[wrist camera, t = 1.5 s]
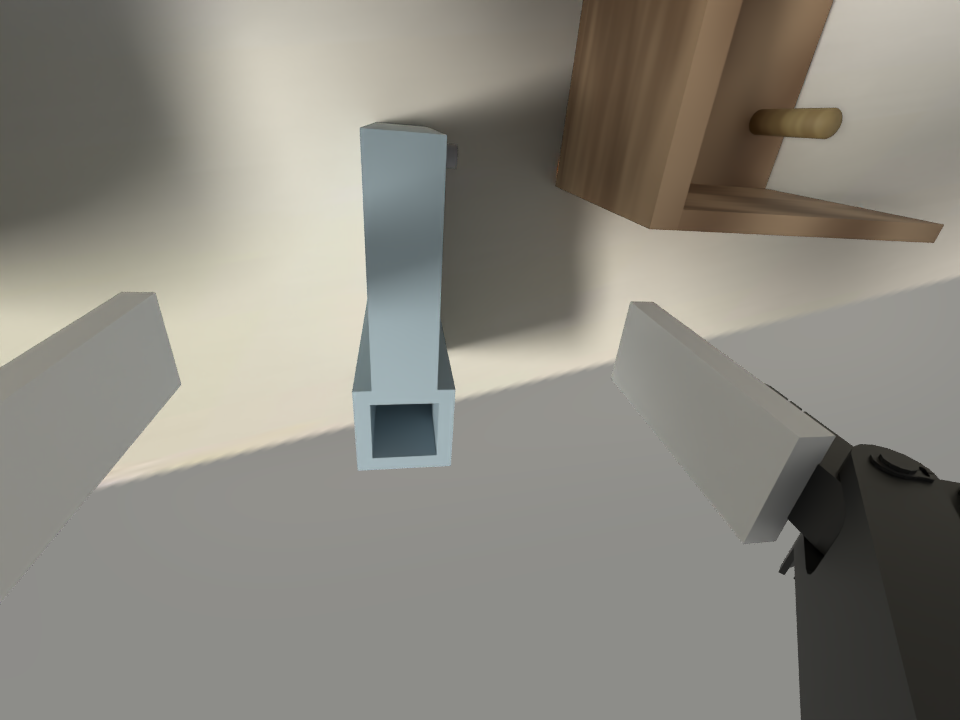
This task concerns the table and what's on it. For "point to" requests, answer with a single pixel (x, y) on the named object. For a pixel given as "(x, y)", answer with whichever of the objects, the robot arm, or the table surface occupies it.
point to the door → (403, 302)
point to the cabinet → (703, 118)
